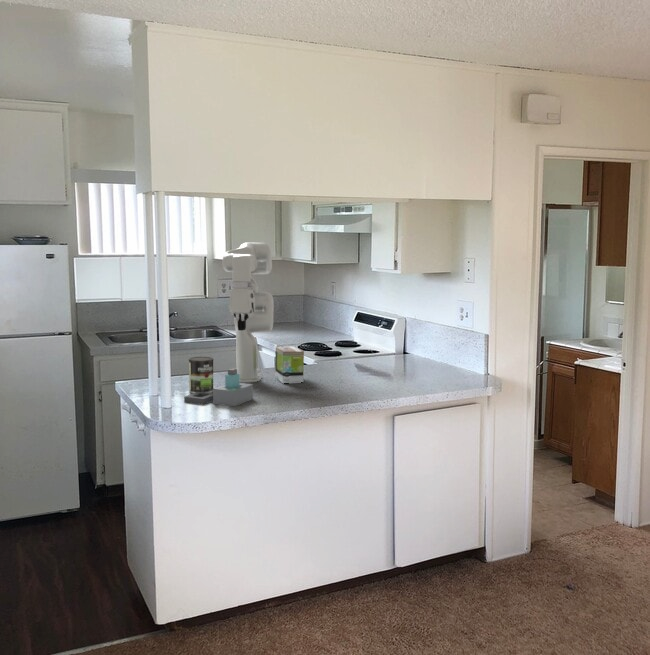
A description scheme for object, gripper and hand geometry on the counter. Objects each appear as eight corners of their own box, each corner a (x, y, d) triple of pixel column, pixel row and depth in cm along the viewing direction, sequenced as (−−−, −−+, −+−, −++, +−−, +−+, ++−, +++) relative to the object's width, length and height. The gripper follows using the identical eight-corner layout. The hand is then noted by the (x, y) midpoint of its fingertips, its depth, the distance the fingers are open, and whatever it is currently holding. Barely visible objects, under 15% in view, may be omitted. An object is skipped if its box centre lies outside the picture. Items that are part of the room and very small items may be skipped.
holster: (198, 396, 291) (198, 391, 291) (217, 399, 287) (217, 393, 287) (184, 402, 282) (184, 396, 282) (203, 404, 278) (203, 399, 278)
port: (231, 396, 293) (231, 381, 292) (252, 398, 289) (252, 383, 288) (213, 403, 280) (212, 387, 279) (235, 406, 276) (235, 390, 275)
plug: (232, 394, 287) (231, 367, 285) (239, 395, 285) (239, 368, 284) (225, 397, 282) (225, 370, 281) (233, 398, 281) (232, 370, 279)
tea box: (304, 383, 320) (304, 350, 318) (282, 384, 317) (282, 351, 315) (295, 376, 334) (295, 345, 332) (274, 377, 331) (274, 346, 329)
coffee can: (218, 392, 300) (217, 359, 298) (195, 395, 294) (195, 361, 292) (206, 387, 308) (206, 355, 306) (184, 390, 302) (184, 357, 300)
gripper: (262, 285, 291) (262, 330, 293) (230, 284, 297) (230, 327, 299) (253, 287, 284) (253, 332, 286) (221, 285, 290) (221, 329, 292)
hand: (241, 329), depth 293 cm, fingers closed
